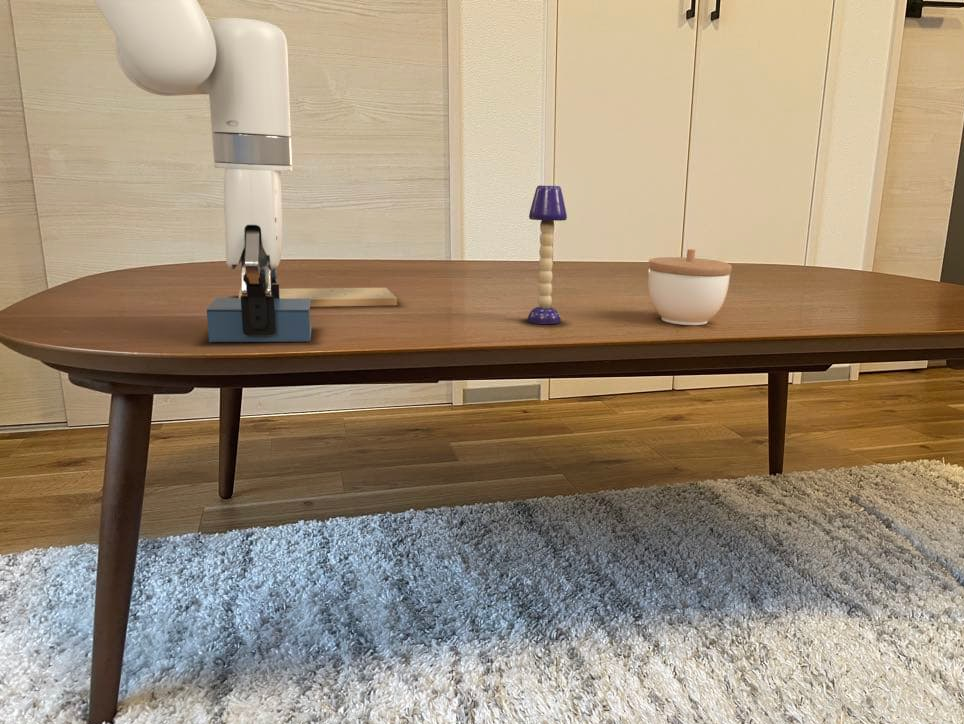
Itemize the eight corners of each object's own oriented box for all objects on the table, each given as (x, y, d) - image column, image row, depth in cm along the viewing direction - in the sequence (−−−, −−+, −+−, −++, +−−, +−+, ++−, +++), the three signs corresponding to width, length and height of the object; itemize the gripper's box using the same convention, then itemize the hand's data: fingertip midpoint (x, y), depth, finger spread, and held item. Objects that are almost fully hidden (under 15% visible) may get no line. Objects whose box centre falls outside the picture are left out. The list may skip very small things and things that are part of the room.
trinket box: (661, 310, 110) (667, 243, 108) (735, 320, 105) (743, 250, 103) (630, 321, 102) (636, 248, 99) (709, 332, 96) (718, 256, 94)
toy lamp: (517, 319, 99) (522, 184, 94) (543, 316, 102) (549, 184, 97) (544, 326, 96) (550, 186, 91) (569, 322, 99) (577, 186, 94)
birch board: (239, 308, 98) (238, 300, 98) (239, 296, 106) (239, 288, 106) (397, 305, 105) (397, 298, 105) (386, 294, 113) (386, 287, 113)
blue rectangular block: (209, 342, 80) (206, 309, 79) (218, 328, 86) (216, 297, 85) (310, 341, 82) (309, 309, 81) (311, 328, 89) (310, 298, 88)
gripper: (224, 153, 86) (234, 311, 91) (200, 152, 70) (214, 345, 75) (295, 156, 88) (301, 312, 93) (287, 156, 72) (295, 344, 77)
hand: (262, 325), depth 84 cm, fingers closed on blue rectangular block, 7 cm apart
